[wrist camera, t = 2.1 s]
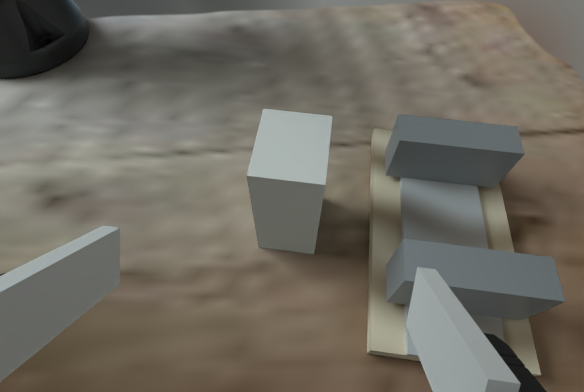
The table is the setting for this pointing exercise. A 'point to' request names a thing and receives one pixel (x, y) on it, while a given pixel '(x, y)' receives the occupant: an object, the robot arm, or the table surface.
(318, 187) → the block
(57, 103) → the table surface
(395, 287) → the mounted modules
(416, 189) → the mounting board
